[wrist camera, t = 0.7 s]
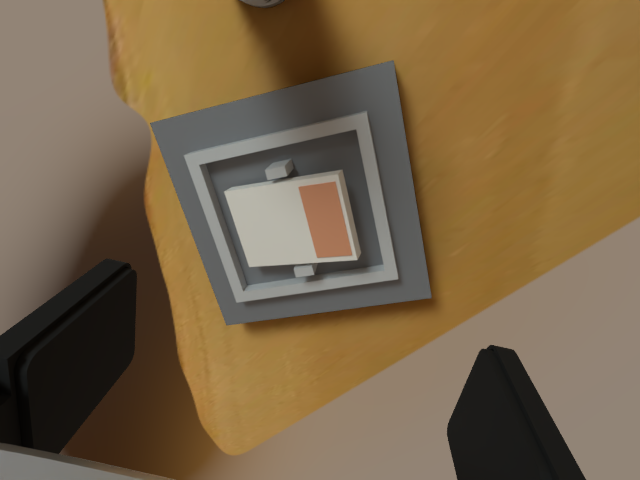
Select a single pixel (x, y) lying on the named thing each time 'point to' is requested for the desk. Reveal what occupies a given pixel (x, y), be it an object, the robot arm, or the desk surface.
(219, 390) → the desk surface
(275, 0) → the travel mug
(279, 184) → the rocker switch
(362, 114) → the switch plate
